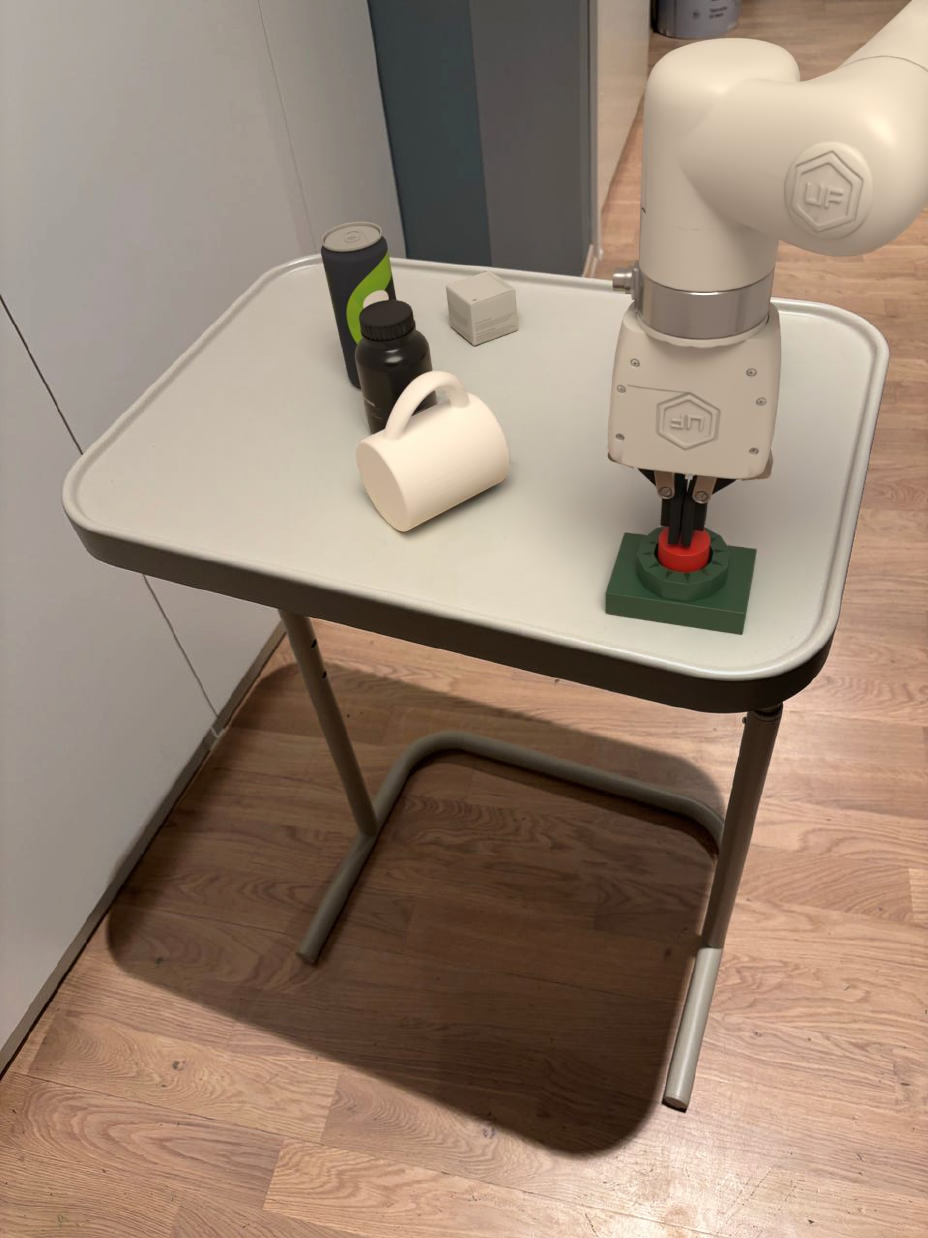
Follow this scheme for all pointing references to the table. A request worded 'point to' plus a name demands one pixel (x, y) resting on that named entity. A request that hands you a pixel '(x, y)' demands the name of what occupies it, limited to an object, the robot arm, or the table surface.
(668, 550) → the button
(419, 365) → the supplement bottle
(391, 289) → the beverage can
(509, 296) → the small box
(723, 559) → the button box
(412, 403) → the mug
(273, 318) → the table surface
